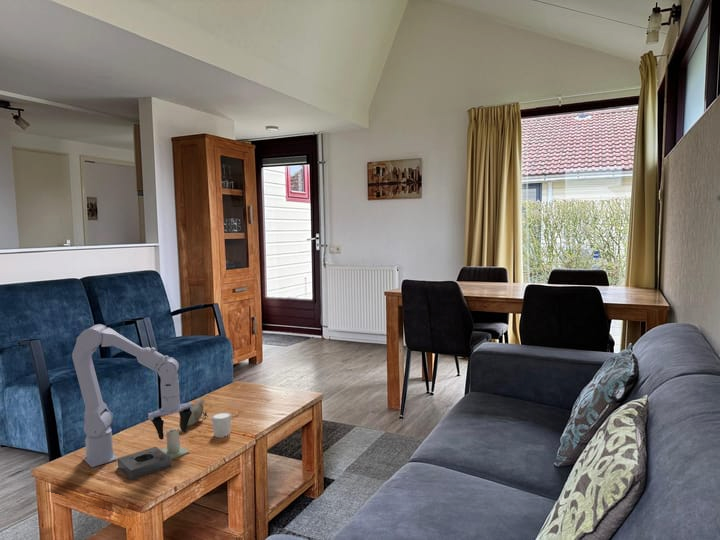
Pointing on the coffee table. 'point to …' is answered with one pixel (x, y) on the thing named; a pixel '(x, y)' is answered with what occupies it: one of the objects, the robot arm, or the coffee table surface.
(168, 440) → the plug
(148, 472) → the housing
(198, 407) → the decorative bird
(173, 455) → the mat
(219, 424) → the white tapered cylinder
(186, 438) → the coffee table surface
